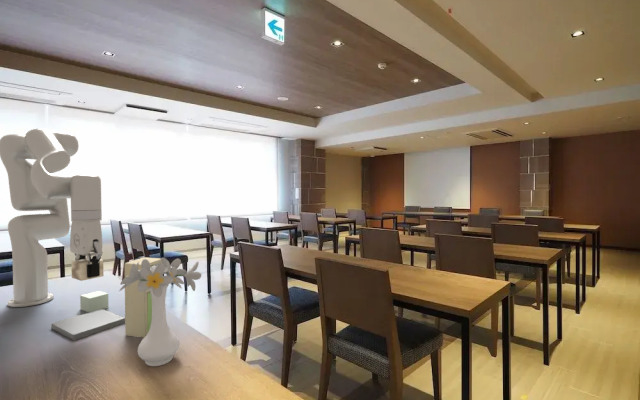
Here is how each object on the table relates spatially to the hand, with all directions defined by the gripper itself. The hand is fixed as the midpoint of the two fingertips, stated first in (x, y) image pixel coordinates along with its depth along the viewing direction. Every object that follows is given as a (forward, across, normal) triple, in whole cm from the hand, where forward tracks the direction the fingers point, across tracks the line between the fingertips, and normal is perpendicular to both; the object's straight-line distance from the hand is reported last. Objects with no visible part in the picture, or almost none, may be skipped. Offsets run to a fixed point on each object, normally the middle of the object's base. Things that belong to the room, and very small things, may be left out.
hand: (87, 274), depth 101 cm
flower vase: (+16, +36, 0) cm, 39 cm away
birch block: (+1, 0, 0) cm, 1 cm away
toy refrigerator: (+16, +18, +7) cm, 25 cm away
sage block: (+16, -14, +8) cm, 23 cm away
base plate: (+16, 0, 0) cm, 16 cm away
